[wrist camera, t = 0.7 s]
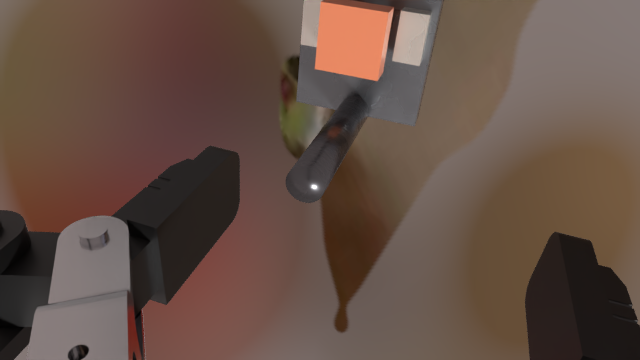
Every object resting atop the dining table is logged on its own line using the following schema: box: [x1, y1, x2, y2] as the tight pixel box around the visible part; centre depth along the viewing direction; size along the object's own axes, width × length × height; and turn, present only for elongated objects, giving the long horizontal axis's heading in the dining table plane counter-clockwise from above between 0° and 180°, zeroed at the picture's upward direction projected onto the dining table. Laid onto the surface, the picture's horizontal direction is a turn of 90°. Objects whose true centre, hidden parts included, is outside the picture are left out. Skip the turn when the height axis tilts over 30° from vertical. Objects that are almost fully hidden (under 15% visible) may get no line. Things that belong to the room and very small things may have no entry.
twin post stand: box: [286, 0, 444, 203], centre depth 30 cm, size 16×10×15 cm, turn 175°
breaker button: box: [315, 0, 394, 81], centre depth 32 cm, size 4×4×4 cm
